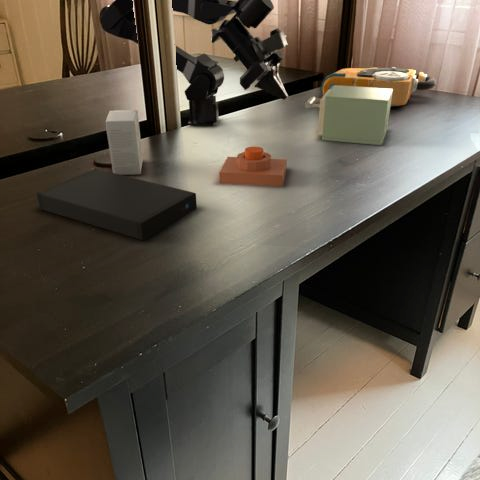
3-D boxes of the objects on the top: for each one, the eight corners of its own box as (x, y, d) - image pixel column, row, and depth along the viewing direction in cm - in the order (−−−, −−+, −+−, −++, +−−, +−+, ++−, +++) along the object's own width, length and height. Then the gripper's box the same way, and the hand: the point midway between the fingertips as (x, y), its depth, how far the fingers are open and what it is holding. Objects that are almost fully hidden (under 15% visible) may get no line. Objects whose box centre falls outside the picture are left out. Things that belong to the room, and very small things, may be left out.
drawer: (301, 133, 124) (303, 98, 120) (310, 121, 132) (312, 88, 128) (372, 139, 120) (377, 103, 116) (377, 127, 128) (382, 92, 124)
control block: (219, 183, 102) (218, 162, 99) (227, 167, 109) (227, 147, 107) (282, 186, 100) (283, 165, 98) (286, 170, 107) (287, 150, 105)
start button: (243, 161, 101) (243, 151, 100) (246, 154, 104) (246, 145, 103) (262, 161, 101) (262, 152, 100) (264, 155, 104) (264, 146, 103)
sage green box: (321, 140, 123) (325, 96, 118) (330, 126, 132) (334, 85, 127) (381, 145, 120) (388, 100, 114) (386, 131, 129) (393, 88, 123)
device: (336, 59, 162) (439, 64, 154) (333, 88, 167) (433, 94, 159) (320, 73, 144) (436, 79, 136) (318, 105, 149) (429, 113, 141)
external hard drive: (98, 183, 102) (96, 168, 100) (197, 209, 92) (196, 192, 90) (40, 209, 92) (36, 193, 90) (143, 241, 82) (141, 223, 80)
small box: (116, 162, 112) (109, 109, 106) (143, 161, 112) (137, 109, 106) (112, 175, 105) (104, 121, 99) (141, 174, 106) (134, 120, 100)
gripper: (254, 21, 110) (302, 82, 114) (277, 12, 125) (319, 66, 129) (219, 60, 117) (266, 117, 121) (245, 47, 131) (286, 98, 135)
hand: (286, 98), depth 126 cm, fingers closed
